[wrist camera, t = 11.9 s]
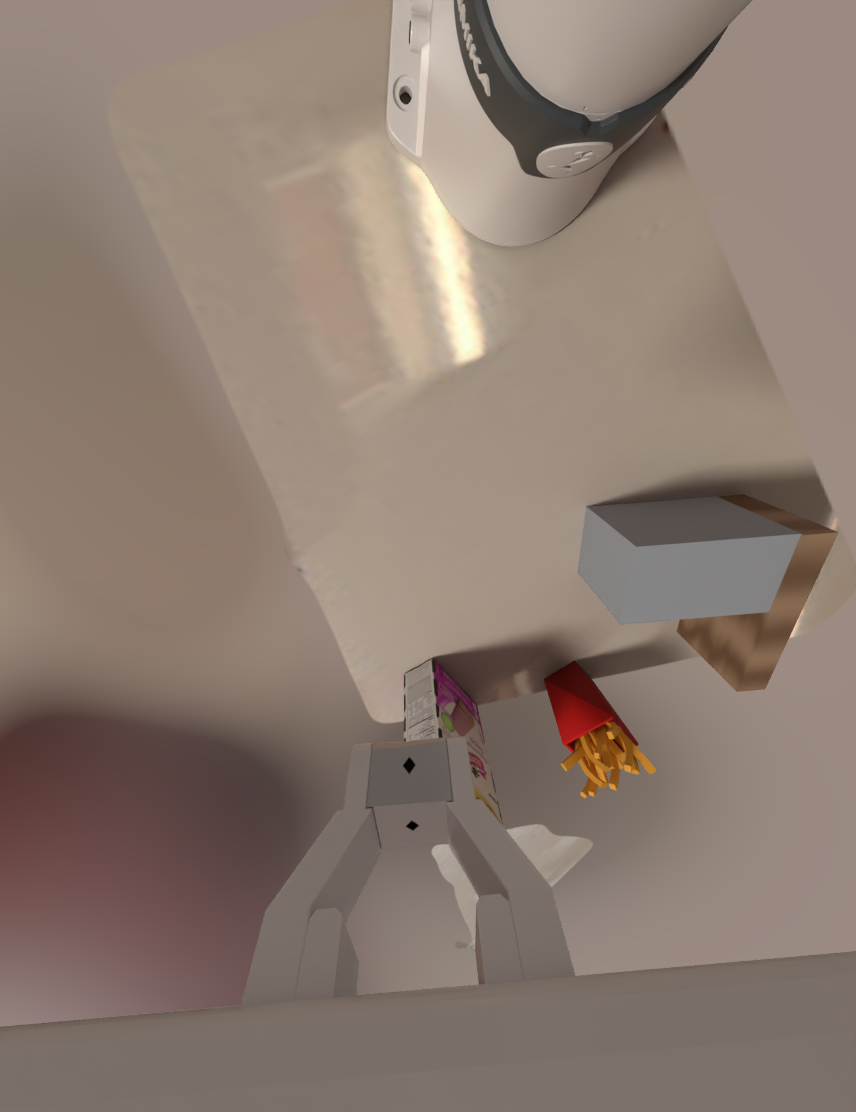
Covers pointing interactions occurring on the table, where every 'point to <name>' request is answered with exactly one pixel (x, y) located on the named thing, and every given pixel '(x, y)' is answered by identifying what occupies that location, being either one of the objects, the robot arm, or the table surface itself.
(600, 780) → the french fries
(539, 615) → the table surface
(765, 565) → the slate block
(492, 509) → the table surface
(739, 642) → the walnut board
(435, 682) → the candy bar box
